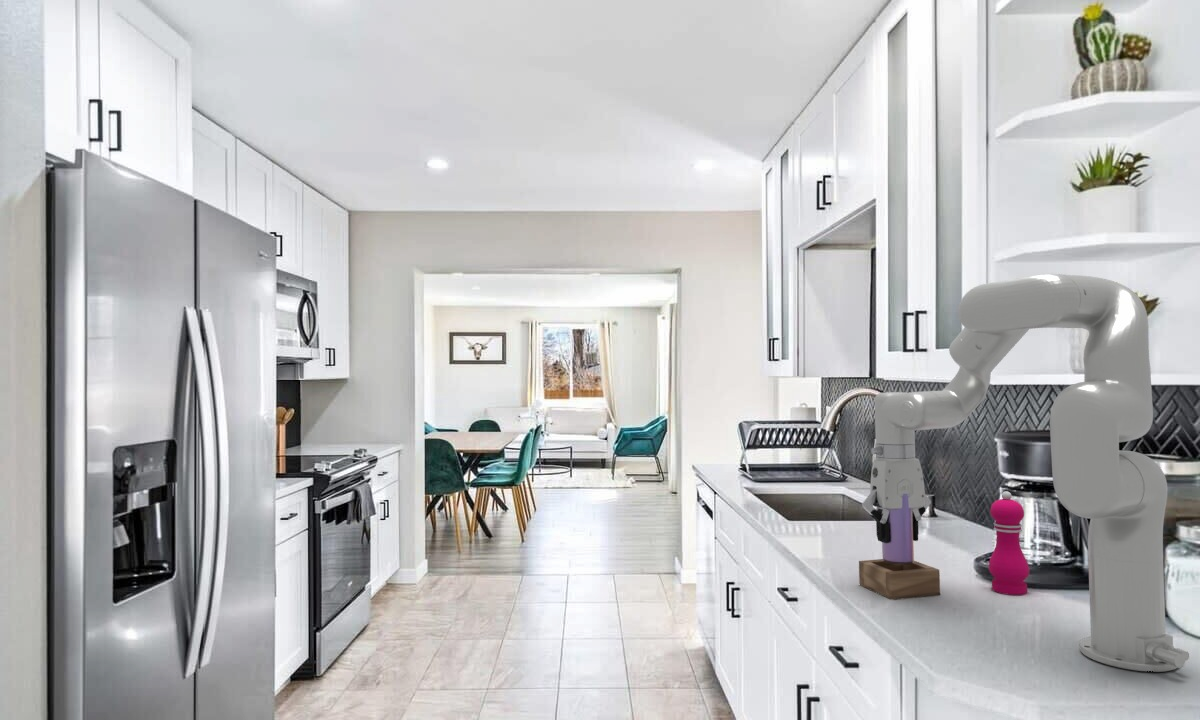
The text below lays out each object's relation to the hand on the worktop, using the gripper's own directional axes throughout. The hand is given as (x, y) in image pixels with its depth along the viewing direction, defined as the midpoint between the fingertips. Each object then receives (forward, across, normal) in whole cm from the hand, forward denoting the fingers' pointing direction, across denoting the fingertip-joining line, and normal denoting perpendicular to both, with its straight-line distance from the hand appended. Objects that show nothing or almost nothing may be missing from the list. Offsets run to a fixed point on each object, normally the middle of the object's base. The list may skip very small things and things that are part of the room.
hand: (897, 539), depth 155 cm
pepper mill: (+10, +20, -7) cm, 24 cm away
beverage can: (+5, 0, 0) cm, 5 cm away
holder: (+10, 0, 0) cm, 10 cm away
